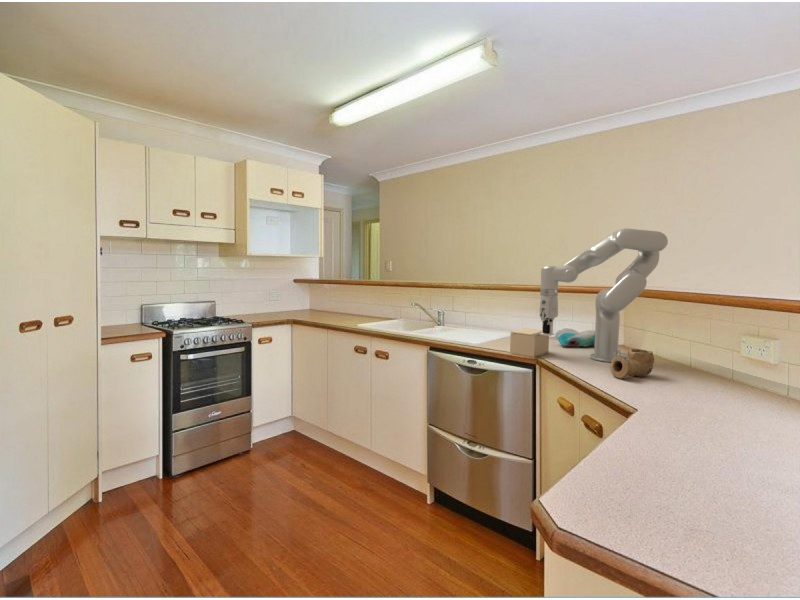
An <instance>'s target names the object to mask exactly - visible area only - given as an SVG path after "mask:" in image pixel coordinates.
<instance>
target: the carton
mask: <svg viewBox="0 0 800 600" xmlns="http://www.w3.org/2000/svg"><path fill="white" fill-rule="evenodd" d="M549 343H550V336H547V335H536V336H532V335H524V334H517V333H511V332H510V346H509V354H510V353H513V354H512V355H516V354H518V355H517V356H521V355H522V357H528V358H537V357H539V356H543V355H545V354H546V355H547V354H549V348H550V347H549Z"/></svg>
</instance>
